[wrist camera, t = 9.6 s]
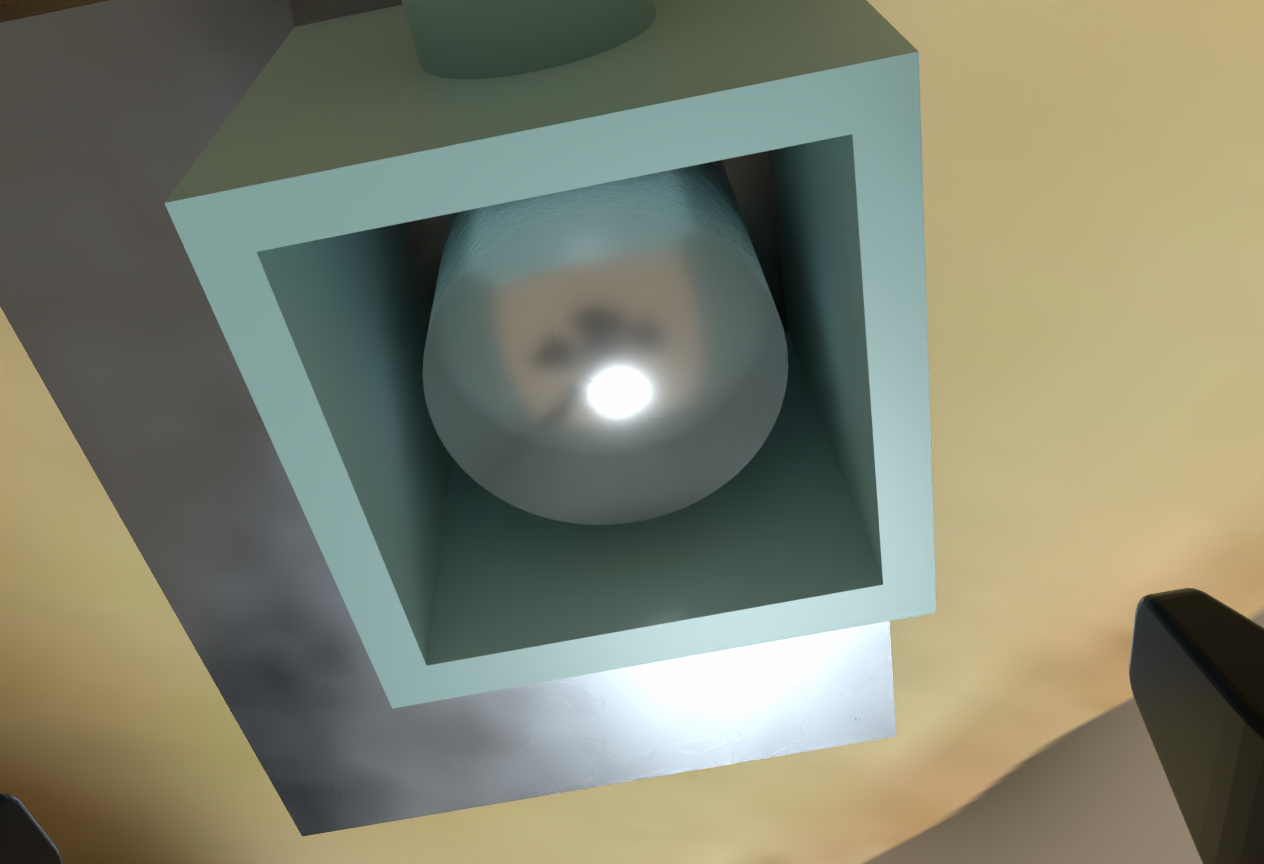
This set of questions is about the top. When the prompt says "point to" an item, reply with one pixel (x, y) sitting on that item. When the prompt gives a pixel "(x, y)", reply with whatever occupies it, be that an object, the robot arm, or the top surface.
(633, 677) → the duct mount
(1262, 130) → the top surface
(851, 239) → the duct collar
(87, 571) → the top surface
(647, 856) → the top surface
